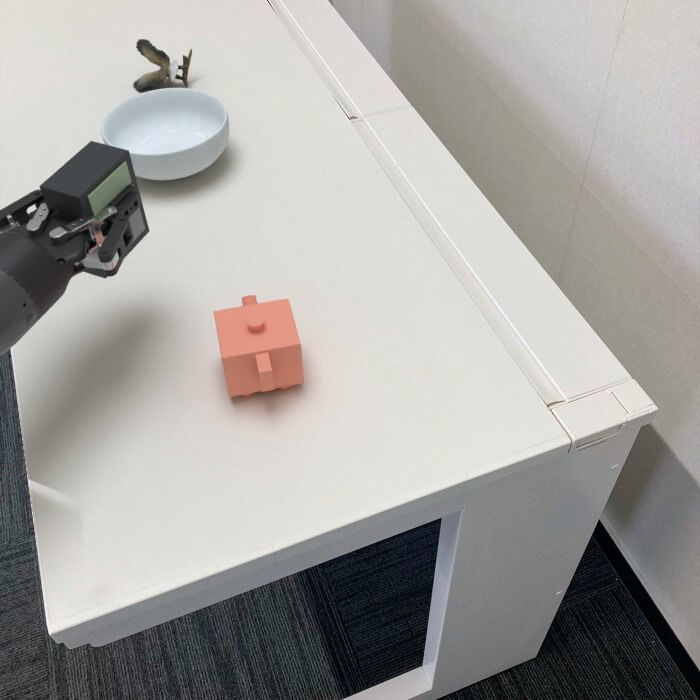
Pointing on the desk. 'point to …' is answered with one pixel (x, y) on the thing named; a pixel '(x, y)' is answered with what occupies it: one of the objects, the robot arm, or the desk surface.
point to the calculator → (94, 188)
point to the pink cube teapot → (259, 346)
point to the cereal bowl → (168, 131)
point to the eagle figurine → (162, 61)
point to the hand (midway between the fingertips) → (112, 186)
